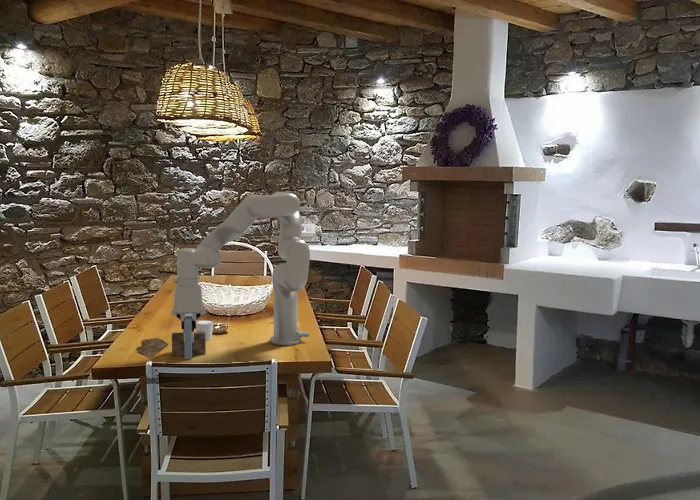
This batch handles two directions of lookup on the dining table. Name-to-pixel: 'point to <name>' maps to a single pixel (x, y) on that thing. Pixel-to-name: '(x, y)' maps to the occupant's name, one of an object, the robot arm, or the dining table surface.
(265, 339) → the dining table surface
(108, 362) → the dining table surface
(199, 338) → the wood grain block
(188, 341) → the blue-grey notched panel
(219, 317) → the dining table surface
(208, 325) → the white topped beige cylinder
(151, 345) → the wooden fragment
